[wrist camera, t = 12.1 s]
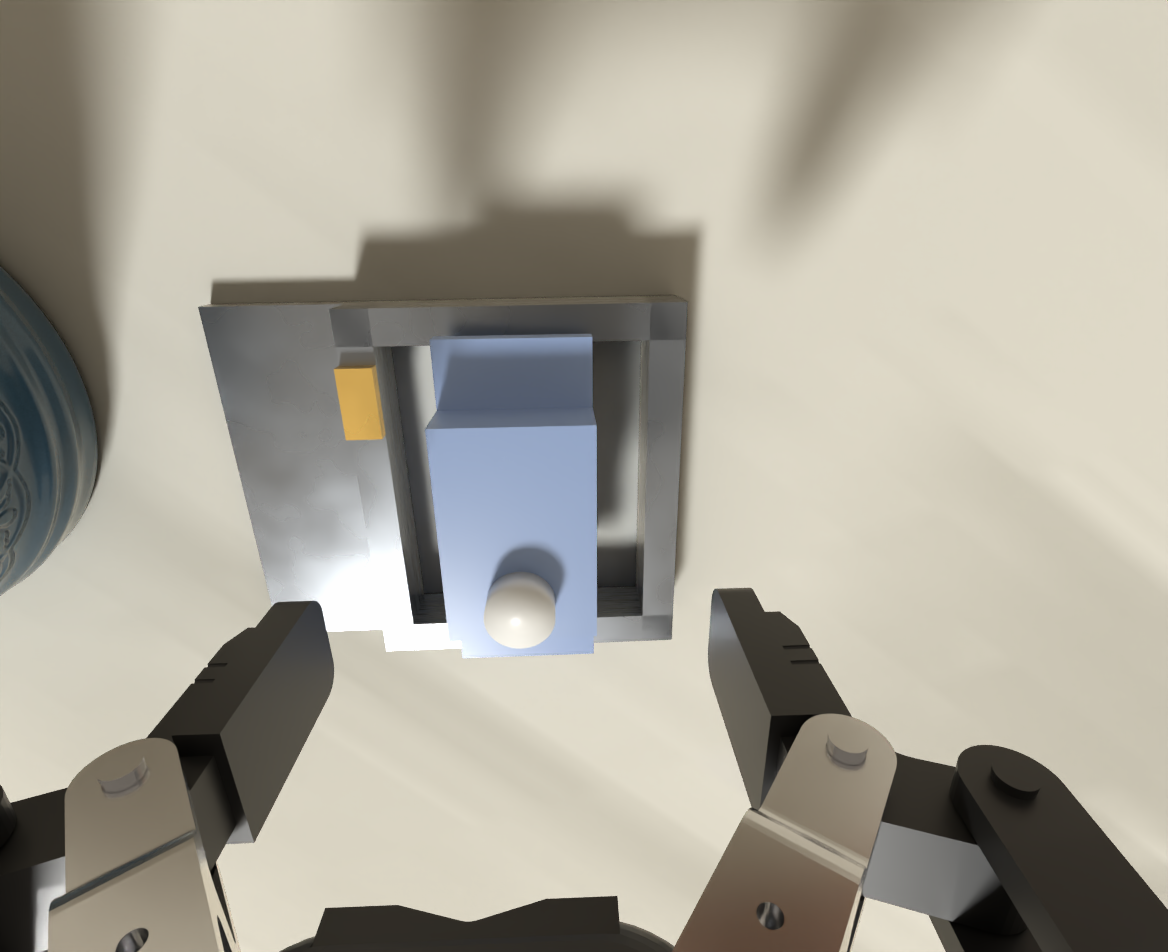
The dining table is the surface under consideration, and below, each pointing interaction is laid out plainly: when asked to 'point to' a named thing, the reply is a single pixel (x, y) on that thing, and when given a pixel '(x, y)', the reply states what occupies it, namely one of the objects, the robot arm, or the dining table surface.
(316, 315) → the chassis plate
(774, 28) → the dining table surface
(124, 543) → the dining table surface
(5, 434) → the canister
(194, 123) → the dining table surface
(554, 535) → the block
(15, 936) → the robot arm
